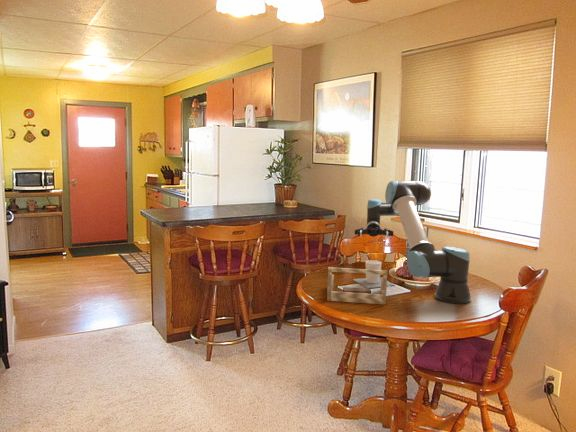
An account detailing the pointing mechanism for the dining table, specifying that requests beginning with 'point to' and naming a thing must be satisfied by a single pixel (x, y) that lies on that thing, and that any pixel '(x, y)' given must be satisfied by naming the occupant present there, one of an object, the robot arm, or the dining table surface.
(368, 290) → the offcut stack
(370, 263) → the white cup
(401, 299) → the dining table surface
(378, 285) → the rubber mat
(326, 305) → the dining table surface
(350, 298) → the frame
